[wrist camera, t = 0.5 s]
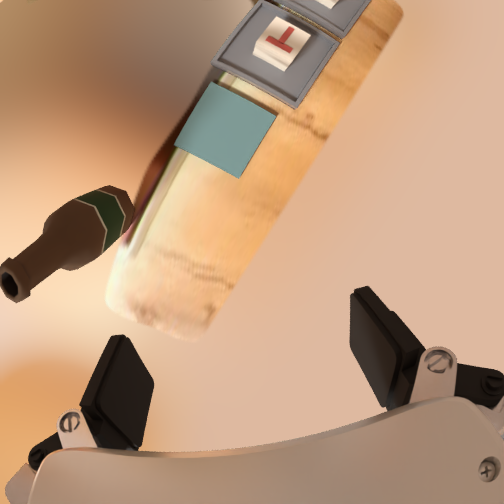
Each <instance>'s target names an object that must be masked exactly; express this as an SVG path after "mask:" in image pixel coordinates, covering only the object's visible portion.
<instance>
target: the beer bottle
mask: <svg viewBox="0 0 504 504" xmlns="http://www.w3.org/2000/svg"><path fill="white" fill-rule="evenodd" d="M134 210H135V208H134V206H133V204H132V202H131V200H130V198H129V196H128V194H127V192H126V191H124V190H121V189H118V188H116V187H113V186H110V185H109V186H104V187H102V188H99V189H97V190H94V191H92V192H89V193H87V194H84V195H82V196H79V197H77V198H75V199H72V200H71V201H69V202H67V203H66V204H64V205H63V206H62V207H60V208H59V209H58V210H56V211H55V212H54V213H52V214H51V215H50V216H49V217H48V219H47V220H46V222H45V223H44V228H43V234H42V235H41V236H40V237H39V238H38V239H37V240H36V241H35V242H34V243H32V244H31V245H30V246H29V247H27V248H26V249H25V250H24V251H22V252H21V253H20V254H19V255H18V256H17V257H15V258H14V259H11V258H8V259H7V260H6V261H5V262H3V263H2V264H1V266H0V287H1V289H2V290H3V292H4V294H5V295H6V297H7V298H9V299H10V300H12V301H14V302H16V303H18V302H20V301H22V300H24V299H26V298H27V297H29V296H30V290H31V289H32V288H34V287H35V286H36V285H38V284H39V283H40V282H41V281H43V280H44V279H45V278H47V277H48V276H49V275H51V274H52V273H53V272H55V271H56V270H58V269H60V268H62V269H65V270H69V271H71V270H75V269H79V268H80V267H82V266H84V265H86V264H88V263H89V262H91V261H93V260H95V259H96V258H97V257H99V256H100V255H101V254H102V253H103V252H104V251H106V250H107V249H108V248H109V247H110V246H111V245H112V244H113V243H114V242H115V241H116V240H117V239H118V238H119V237H120V236H122V235H123V234H124V233H125V232H126V231H127V230H128V229H129V227H130V225H131V221H132V217H133V213H134Z"/></svg>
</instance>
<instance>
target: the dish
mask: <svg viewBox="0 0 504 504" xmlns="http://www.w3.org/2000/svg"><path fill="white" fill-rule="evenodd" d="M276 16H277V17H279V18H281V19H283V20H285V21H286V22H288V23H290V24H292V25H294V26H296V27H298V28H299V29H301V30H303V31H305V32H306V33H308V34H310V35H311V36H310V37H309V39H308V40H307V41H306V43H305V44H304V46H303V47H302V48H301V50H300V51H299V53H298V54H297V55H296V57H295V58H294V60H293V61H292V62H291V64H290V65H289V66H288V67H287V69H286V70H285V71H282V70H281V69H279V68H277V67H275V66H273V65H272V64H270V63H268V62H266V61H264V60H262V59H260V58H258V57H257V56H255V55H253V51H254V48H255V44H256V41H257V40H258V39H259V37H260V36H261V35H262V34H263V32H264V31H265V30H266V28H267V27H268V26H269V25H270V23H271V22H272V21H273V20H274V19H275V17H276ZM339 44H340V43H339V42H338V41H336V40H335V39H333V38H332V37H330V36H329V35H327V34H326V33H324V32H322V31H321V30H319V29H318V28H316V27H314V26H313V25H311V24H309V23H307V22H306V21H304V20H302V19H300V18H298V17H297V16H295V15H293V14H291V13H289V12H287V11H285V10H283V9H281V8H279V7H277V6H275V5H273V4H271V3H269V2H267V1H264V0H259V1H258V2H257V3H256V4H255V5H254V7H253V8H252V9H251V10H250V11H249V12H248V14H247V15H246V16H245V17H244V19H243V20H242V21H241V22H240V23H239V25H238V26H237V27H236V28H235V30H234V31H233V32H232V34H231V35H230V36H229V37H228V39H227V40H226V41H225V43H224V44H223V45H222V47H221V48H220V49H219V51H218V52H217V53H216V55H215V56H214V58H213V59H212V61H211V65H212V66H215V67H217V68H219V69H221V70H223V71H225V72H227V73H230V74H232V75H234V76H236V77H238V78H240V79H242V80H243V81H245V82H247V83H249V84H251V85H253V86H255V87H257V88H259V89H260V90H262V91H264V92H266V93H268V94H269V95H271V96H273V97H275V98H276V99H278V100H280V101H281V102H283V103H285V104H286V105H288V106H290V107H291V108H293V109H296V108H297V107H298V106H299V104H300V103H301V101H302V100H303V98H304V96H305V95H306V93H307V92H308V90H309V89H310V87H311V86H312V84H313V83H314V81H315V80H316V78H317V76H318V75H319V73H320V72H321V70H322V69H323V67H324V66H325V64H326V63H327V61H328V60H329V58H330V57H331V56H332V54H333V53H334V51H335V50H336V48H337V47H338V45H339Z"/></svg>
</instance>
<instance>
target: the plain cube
mask: <svg viewBox="0 0 504 504" xmlns="http://www.w3.org/2000/svg"><path fill="white" fill-rule="evenodd" d="M316 1H318V2H319V3H321V4H323V5H325V6H326V7H328V8H330V9H331V8H332V7H333V6H334V5H335V4H336V3H337V1H338V0H316Z"/></svg>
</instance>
